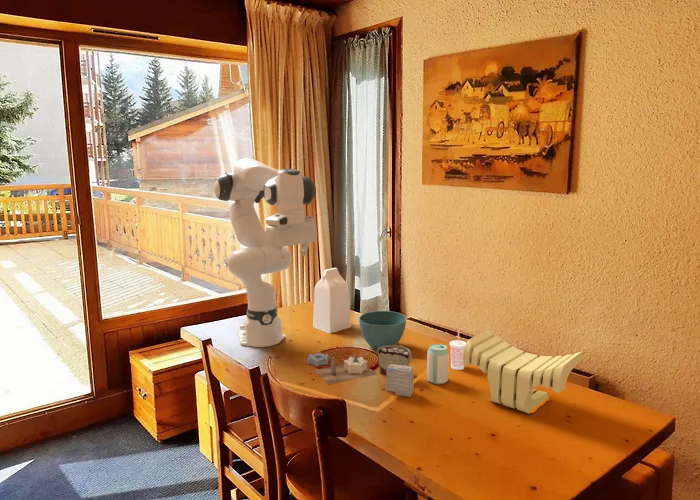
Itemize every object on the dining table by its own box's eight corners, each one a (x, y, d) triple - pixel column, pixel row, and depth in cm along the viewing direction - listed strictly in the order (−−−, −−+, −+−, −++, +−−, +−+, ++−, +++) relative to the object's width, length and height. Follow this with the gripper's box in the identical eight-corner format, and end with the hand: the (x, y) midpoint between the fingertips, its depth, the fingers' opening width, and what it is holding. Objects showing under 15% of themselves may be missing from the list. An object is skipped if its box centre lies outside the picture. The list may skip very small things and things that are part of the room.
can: (430, 375, 187) (431, 341, 184) (450, 378, 184) (451, 344, 181) (424, 382, 180) (424, 348, 178) (444, 386, 177) (445, 352, 175)
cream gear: (340, 371, 187) (340, 362, 187) (353, 363, 194) (352, 355, 193) (358, 376, 183) (358, 367, 183) (370, 368, 190) (370, 359, 189)
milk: (333, 321, 245) (332, 264, 241) (350, 327, 237) (350, 269, 232) (312, 327, 237) (311, 269, 233) (329, 333, 229) (329, 273, 224)
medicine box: (413, 391, 174) (414, 366, 172) (410, 397, 170) (410, 371, 168) (389, 388, 176) (389, 363, 175) (386, 394, 172) (386, 368, 171)
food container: (416, 375, 186) (416, 347, 185) (410, 382, 181) (410, 353, 179) (382, 369, 192) (382, 342, 190) (376, 376, 186) (376, 348, 184)
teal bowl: (399, 359, 201) (400, 327, 199) (353, 353, 207) (352, 322, 204) (410, 342, 218) (410, 313, 216) (367, 337, 224) (366, 309, 221)
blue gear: (304, 363, 197) (304, 355, 197) (324, 359, 201) (324, 351, 200) (312, 370, 191) (312, 362, 190) (332, 366, 194) (332, 358, 194)
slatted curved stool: (462, 395, 171) (463, 342, 167) (487, 379, 182) (489, 329, 179) (556, 428, 151) (560, 367, 148) (577, 407, 162) (582, 351, 159)
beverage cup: (446, 368, 192) (447, 330, 189) (451, 362, 197) (452, 325, 194) (463, 371, 189) (464, 333, 186) (468, 365, 194) (469, 328, 192)
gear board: (313, 373, 189) (312, 353, 187) (359, 363, 197) (359, 345, 195) (329, 387, 177) (328, 367, 176) (376, 377, 185) (377, 357, 184)
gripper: (309, 213, 193) (310, 252, 196) (261, 219, 179) (263, 260, 182) (320, 215, 189) (321, 254, 191) (272, 221, 175) (274, 263, 177)
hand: (292, 257), depth 186 cm, fingers open, 8 cm apart
